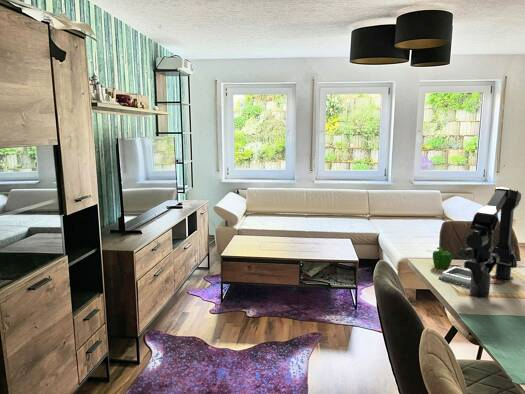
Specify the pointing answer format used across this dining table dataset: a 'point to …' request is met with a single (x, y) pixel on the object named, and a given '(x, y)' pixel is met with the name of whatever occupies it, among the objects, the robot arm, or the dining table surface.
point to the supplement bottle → (481, 285)
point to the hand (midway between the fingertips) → (480, 281)
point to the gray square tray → (457, 276)
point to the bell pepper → (442, 259)
